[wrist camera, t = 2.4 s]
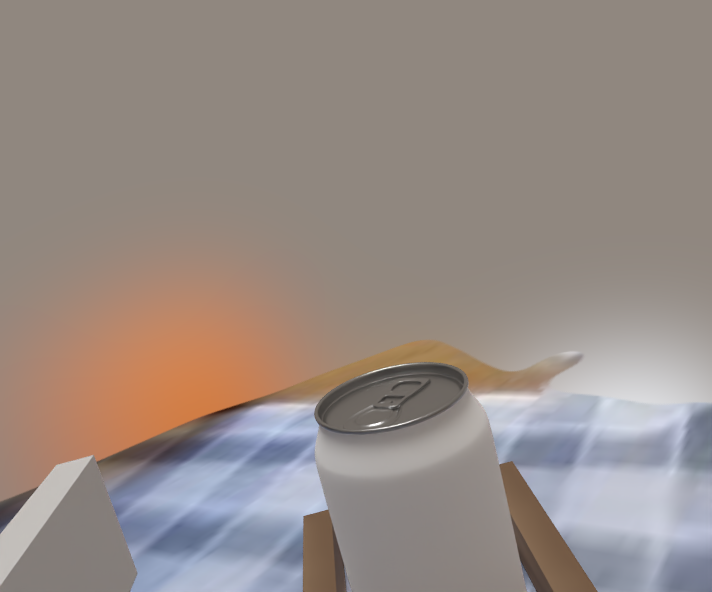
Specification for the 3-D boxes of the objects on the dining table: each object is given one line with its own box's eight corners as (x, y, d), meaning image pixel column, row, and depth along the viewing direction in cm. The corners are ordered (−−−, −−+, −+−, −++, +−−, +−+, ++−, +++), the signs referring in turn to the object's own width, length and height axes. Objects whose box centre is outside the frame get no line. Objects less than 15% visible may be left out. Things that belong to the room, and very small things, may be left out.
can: (349, 711, 26) (265, 432, 23) (424, 598, 31) (362, 358, 28) (507, 766, 22) (429, 442, 20) (563, 628, 27) (507, 355, 25)
